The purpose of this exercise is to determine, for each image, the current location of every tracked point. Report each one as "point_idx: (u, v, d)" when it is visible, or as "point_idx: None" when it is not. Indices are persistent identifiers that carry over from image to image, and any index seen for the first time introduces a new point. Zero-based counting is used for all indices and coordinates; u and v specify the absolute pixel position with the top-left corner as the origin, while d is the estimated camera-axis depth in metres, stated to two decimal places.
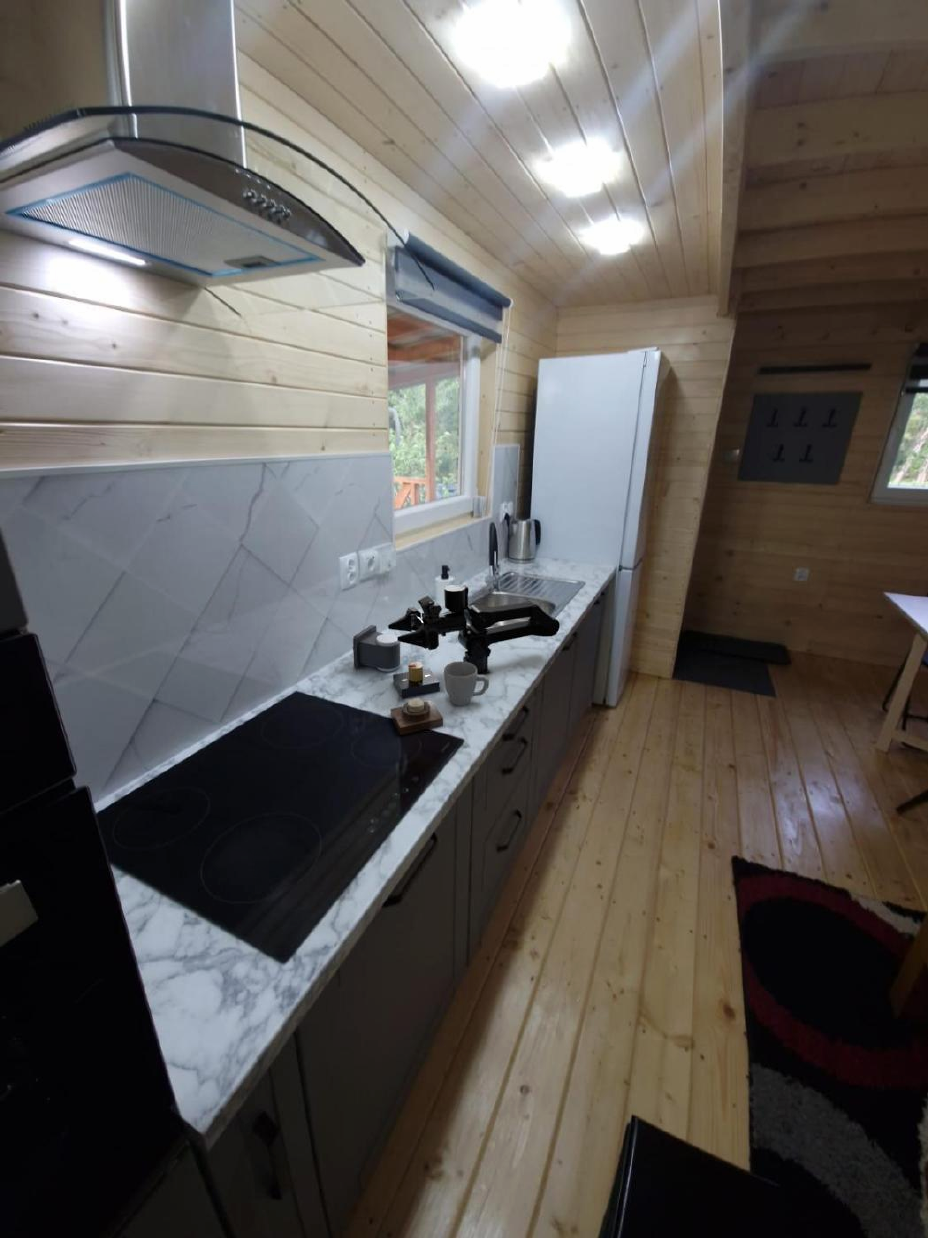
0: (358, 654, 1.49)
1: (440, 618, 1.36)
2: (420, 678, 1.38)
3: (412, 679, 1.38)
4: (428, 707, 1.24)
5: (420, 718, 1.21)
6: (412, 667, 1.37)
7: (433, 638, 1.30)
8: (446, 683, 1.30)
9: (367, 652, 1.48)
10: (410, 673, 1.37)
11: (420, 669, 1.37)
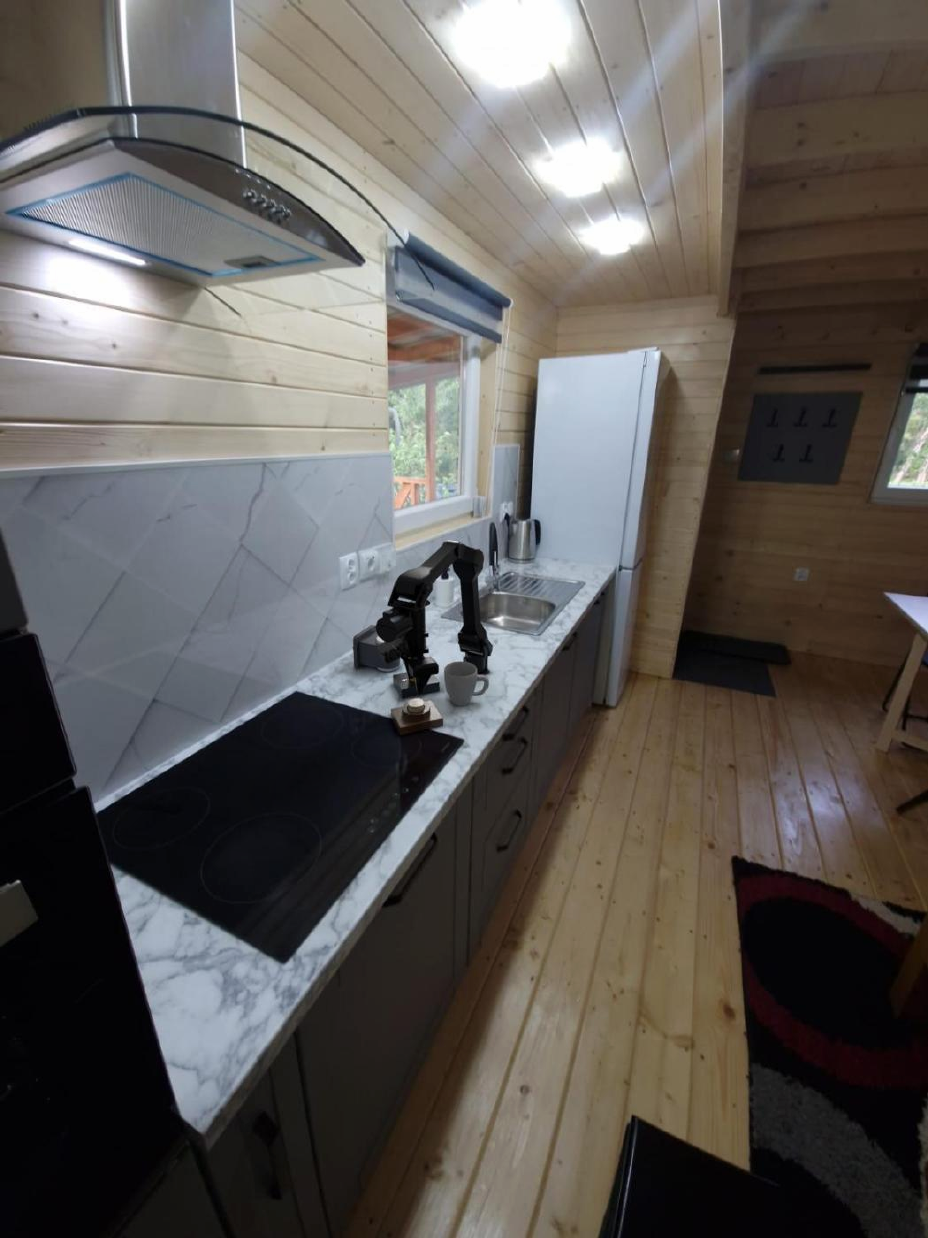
0: (358, 654, 1.49)
1: (405, 642, 1.14)
2: None
3: (412, 679, 1.38)
4: (428, 707, 1.24)
5: (420, 718, 1.21)
6: None
7: (425, 672, 1.10)
8: (446, 683, 1.30)
9: (367, 652, 1.48)
10: None
11: None
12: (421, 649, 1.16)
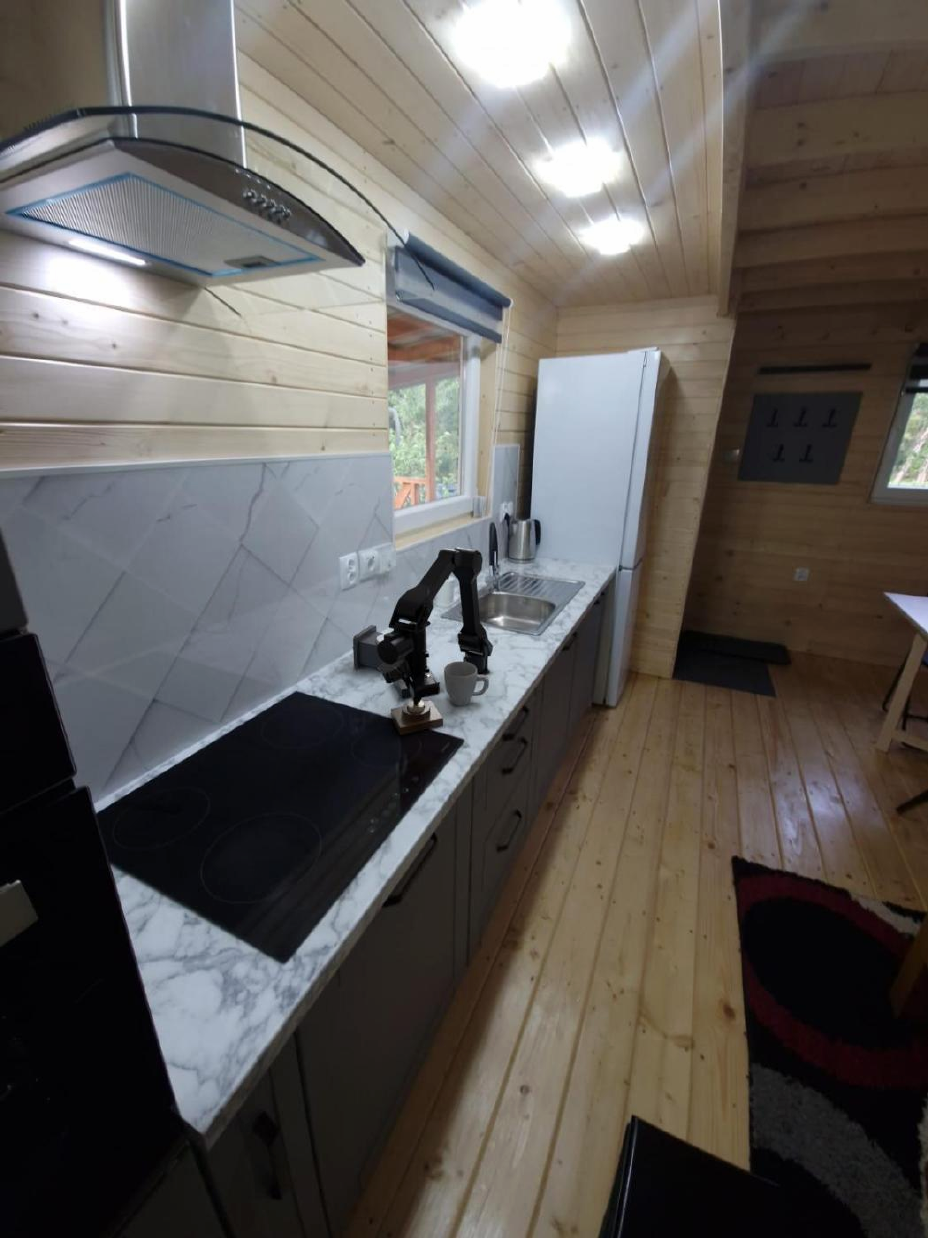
0: (358, 654, 1.49)
1: (406, 663, 1.15)
2: None
3: None
4: (428, 707, 1.24)
5: (420, 718, 1.21)
6: None
7: (425, 692, 1.12)
8: (446, 683, 1.30)
9: (367, 652, 1.48)
10: None
11: None
12: (422, 669, 1.18)
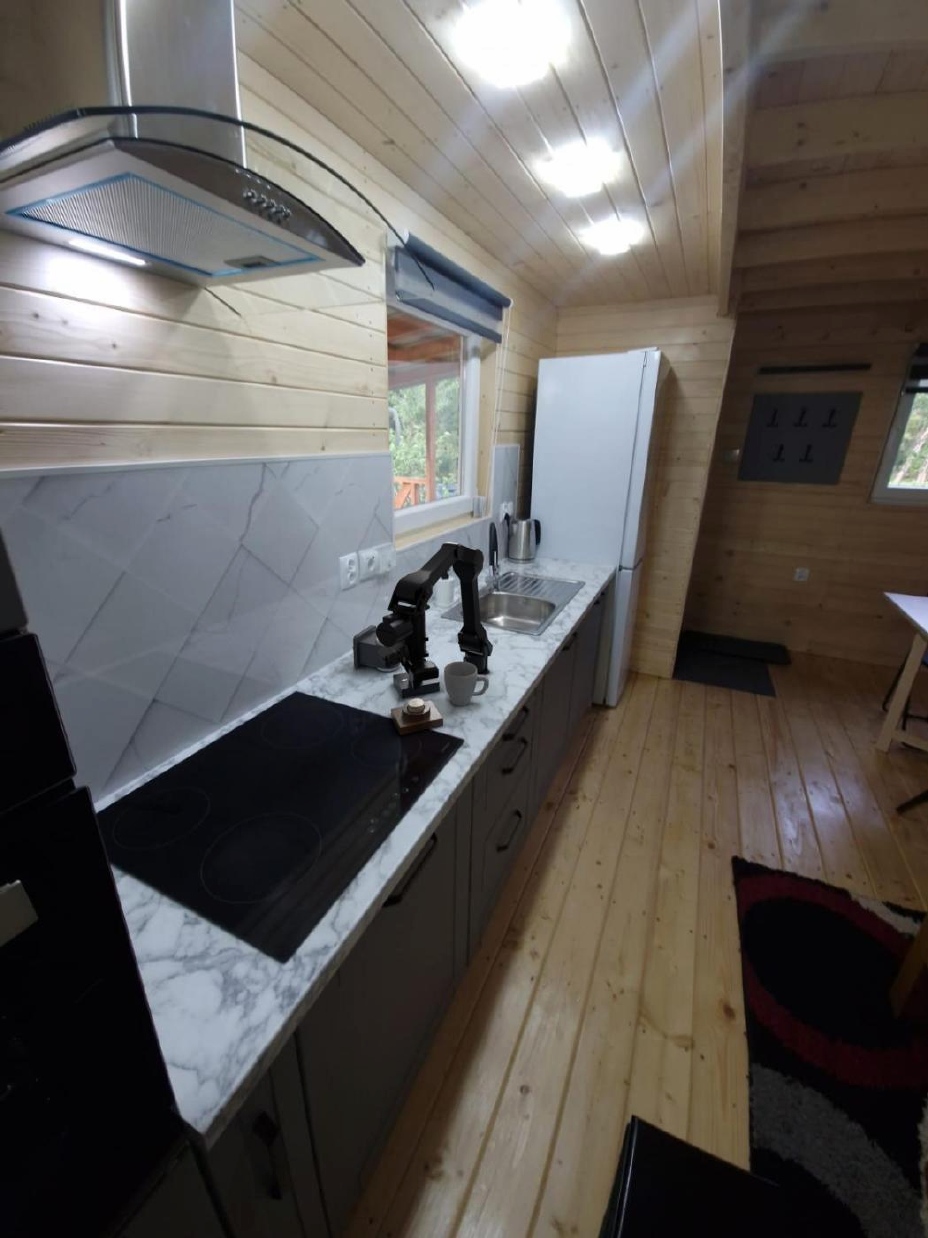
0: (358, 654, 1.49)
1: (405, 646, 1.14)
2: None
3: None
4: (428, 707, 1.24)
5: (420, 718, 1.21)
6: None
7: (425, 676, 1.11)
8: (446, 683, 1.30)
9: (367, 652, 1.48)
10: None
11: None
12: (421, 653, 1.16)
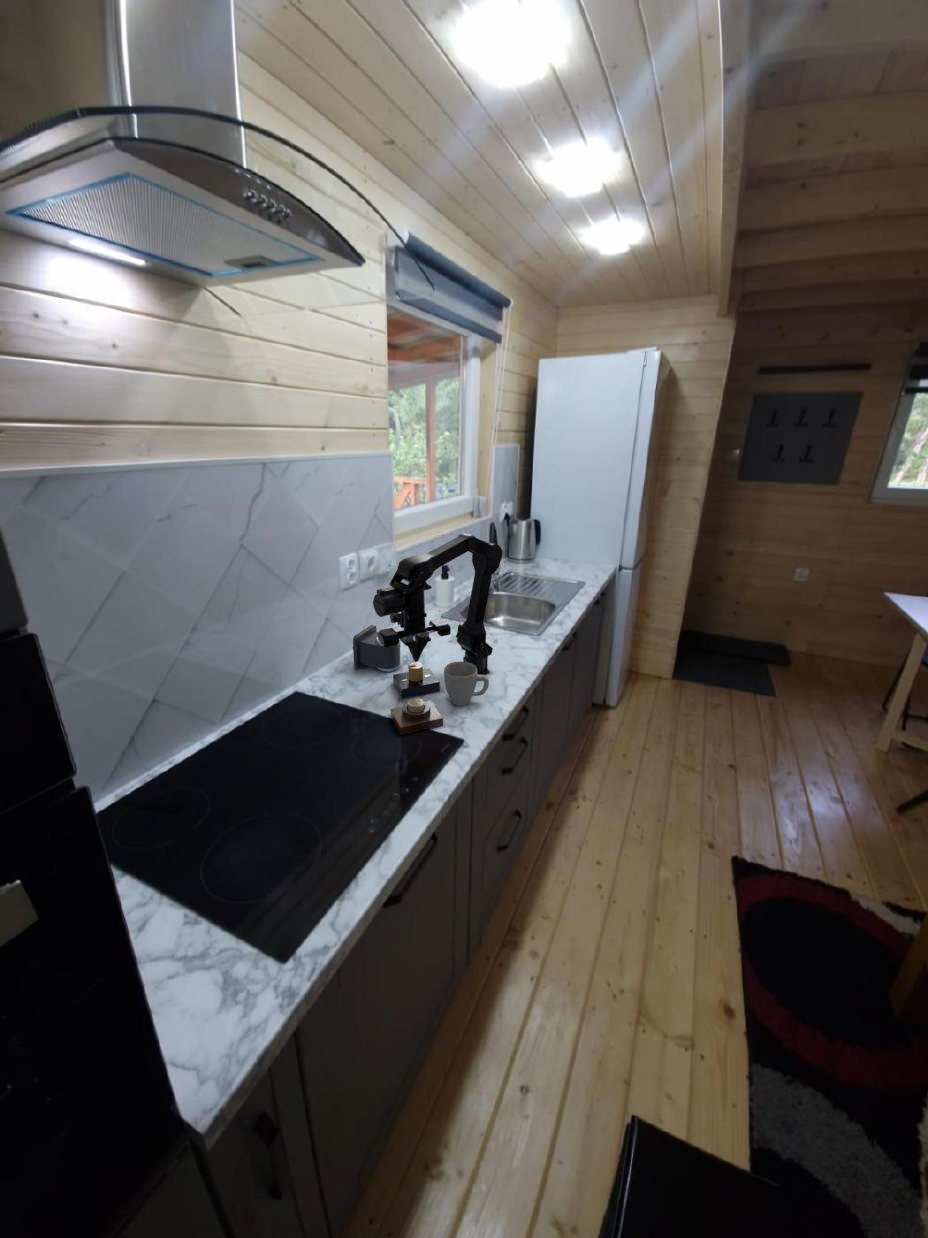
0: (358, 654, 1.49)
1: (401, 614, 1.31)
2: (420, 678, 1.38)
3: (412, 679, 1.38)
4: (428, 707, 1.24)
5: (420, 718, 1.21)
6: (412, 667, 1.37)
7: (380, 638, 1.28)
8: (446, 683, 1.30)
9: (367, 652, 1.48)
10: (410, 673, 1.37)
11: (420, 669, 1.37)
12: (406, 627, 1.28)
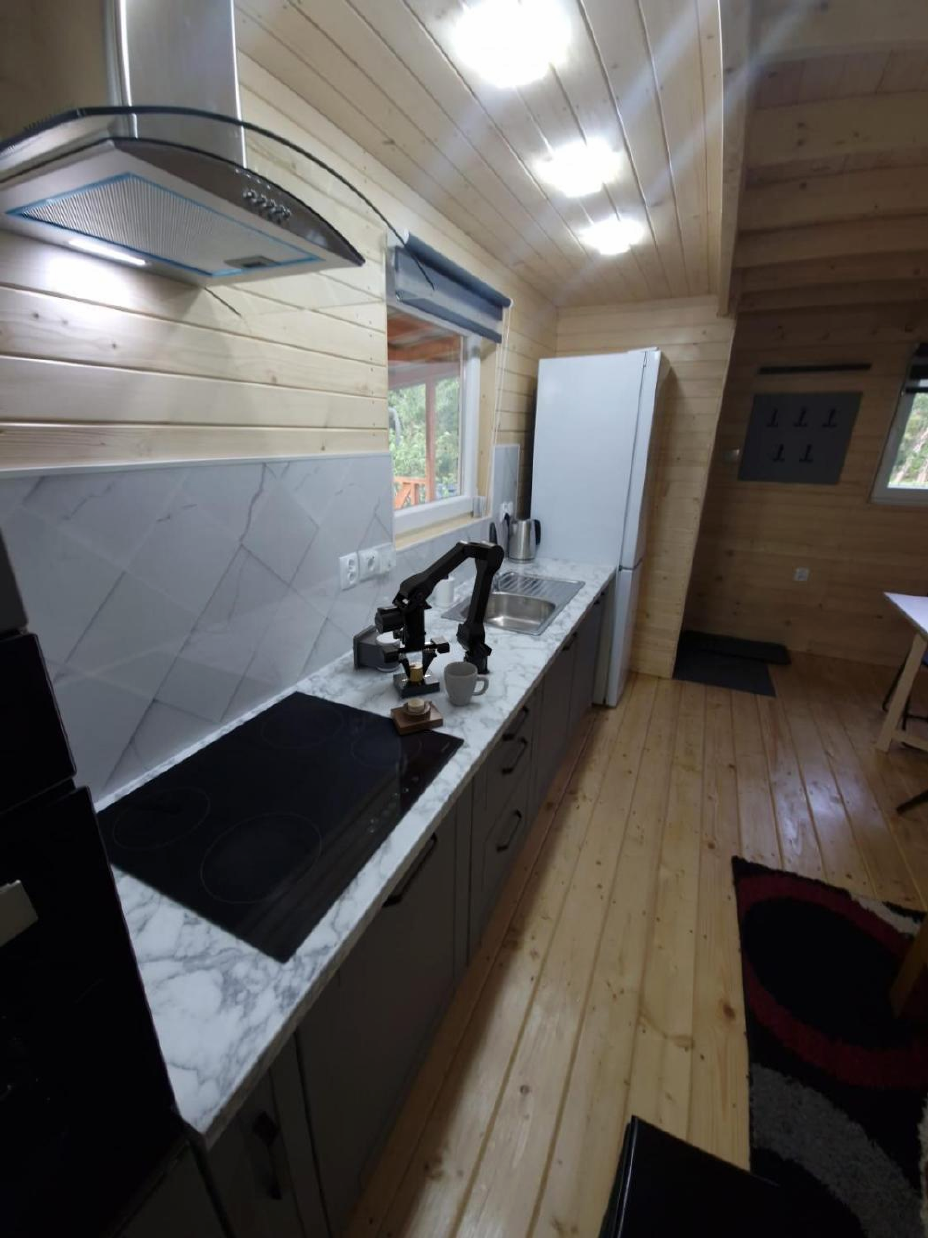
0: (358, 654, 1.49)
1: (402, 631, 1.36)
2: (420, 678, 1.38)
3: (412, 679, 1.38)
4: (428, 707, 1.24)
5: (420, 718, 1.21)
6: (412, 667, 1.37)
7: (381, 654, 1.33)
8: (446, 683, 1.30)
9: (367, 652, 1.48)
10: (410, 673, 1.37)
11: (420, 669, 1.37)
12: (406, 644, 1.34)
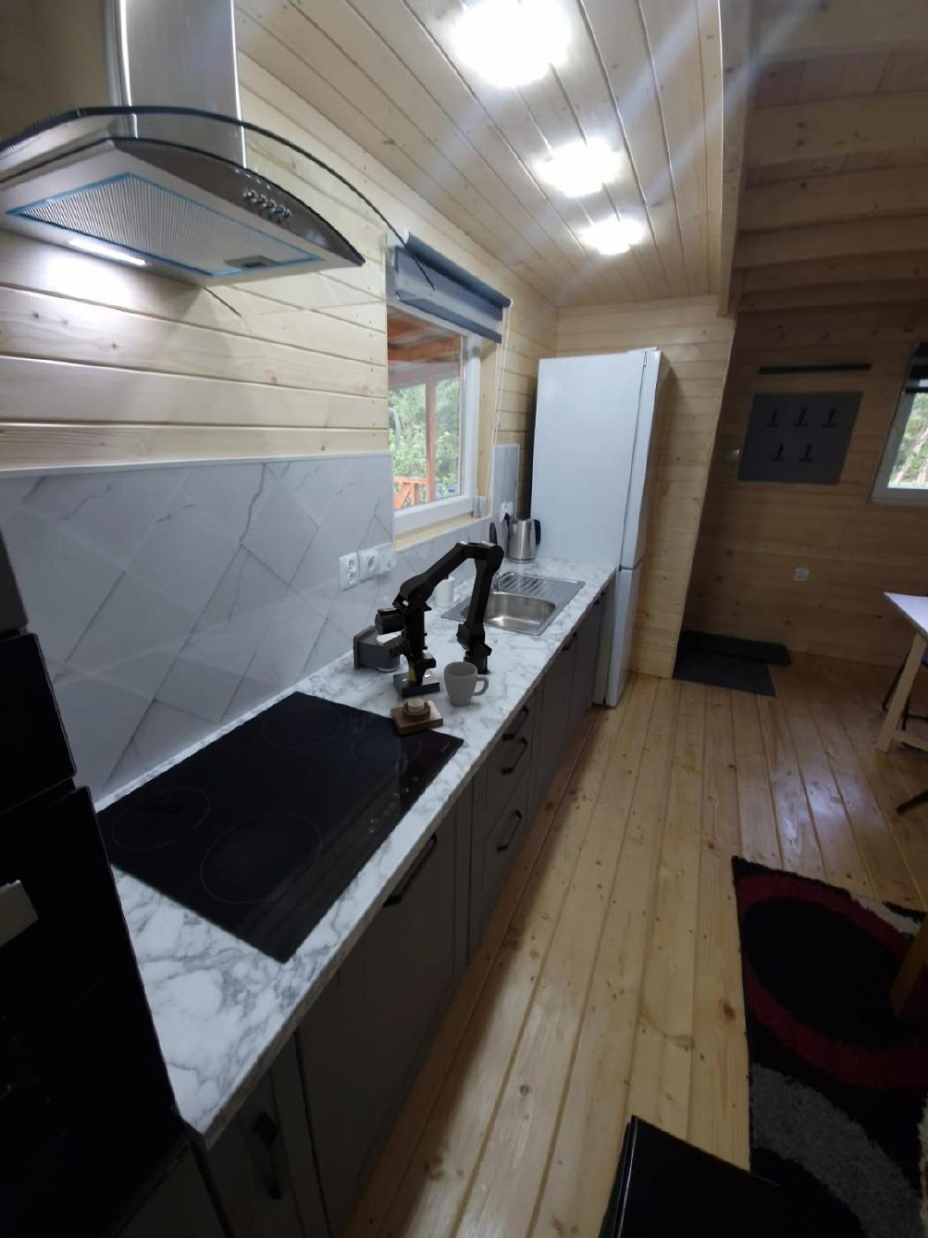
0: (358, 654, 1.49)
1: (407, 640, 1.32)
2: None
3: None
4: (428, 707, 1.24)
5: (420, 718, 1.21)
6: None
7: (424, 666, 1.28)
8: (446, 683, 1.30)
9: (367, 652, 1.48)
10: None
11: None
12: (421, 646, 1.34)
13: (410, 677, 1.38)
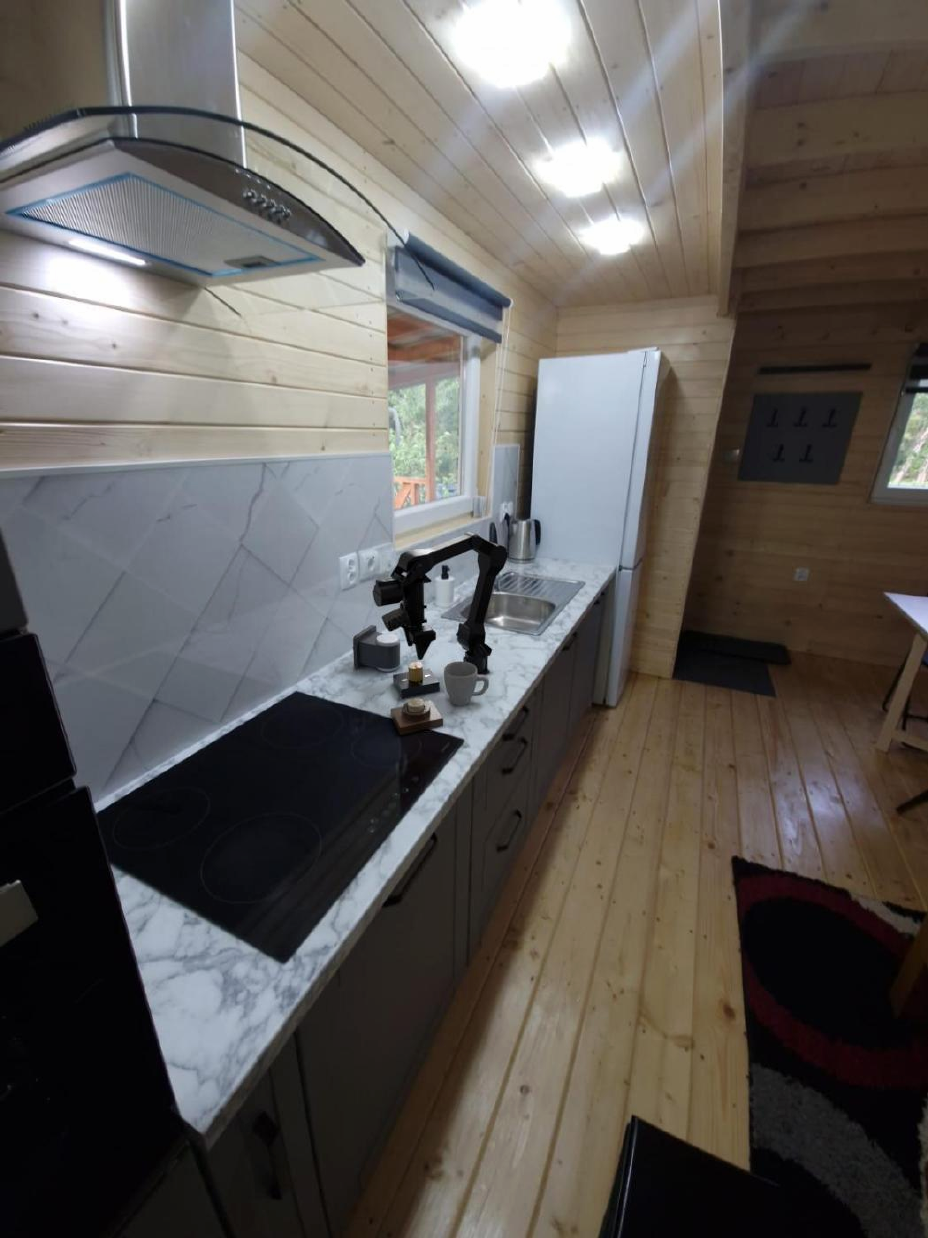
0: (358, 654, 1.49)
1: (406, 612, 1.29)
2: None
3: (422, 677, 1.39)
4: (428, 707, 1.24)
5: (420, 718, 1.21)
6: (419, 666, 1.37)
7: (423, 638, 1.25)
8: (446, 683, 1.30)
9: (367, 652, 1.48)
10: (420, 673, 1.38)
11: None
12: (420, 619, 1.31)
13: (410, 677, 1.38)
